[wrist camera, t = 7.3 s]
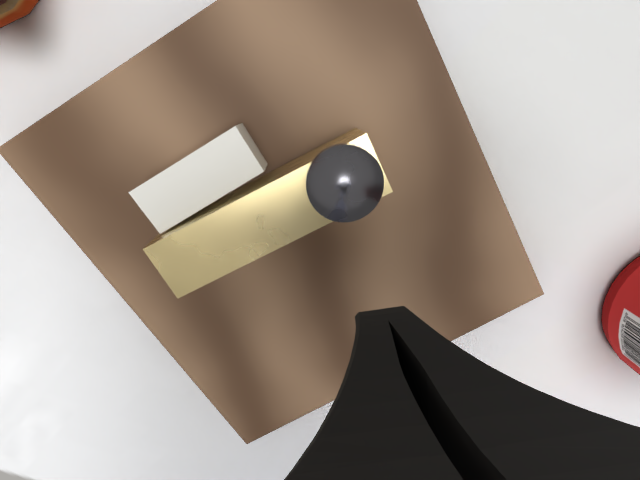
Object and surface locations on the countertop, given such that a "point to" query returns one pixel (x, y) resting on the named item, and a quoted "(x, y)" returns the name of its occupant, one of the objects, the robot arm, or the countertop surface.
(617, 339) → the canned food
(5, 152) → the plate
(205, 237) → the bar
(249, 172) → the white rectangular block
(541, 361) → the countertop surface
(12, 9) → the hamburger
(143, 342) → the countertop surface
